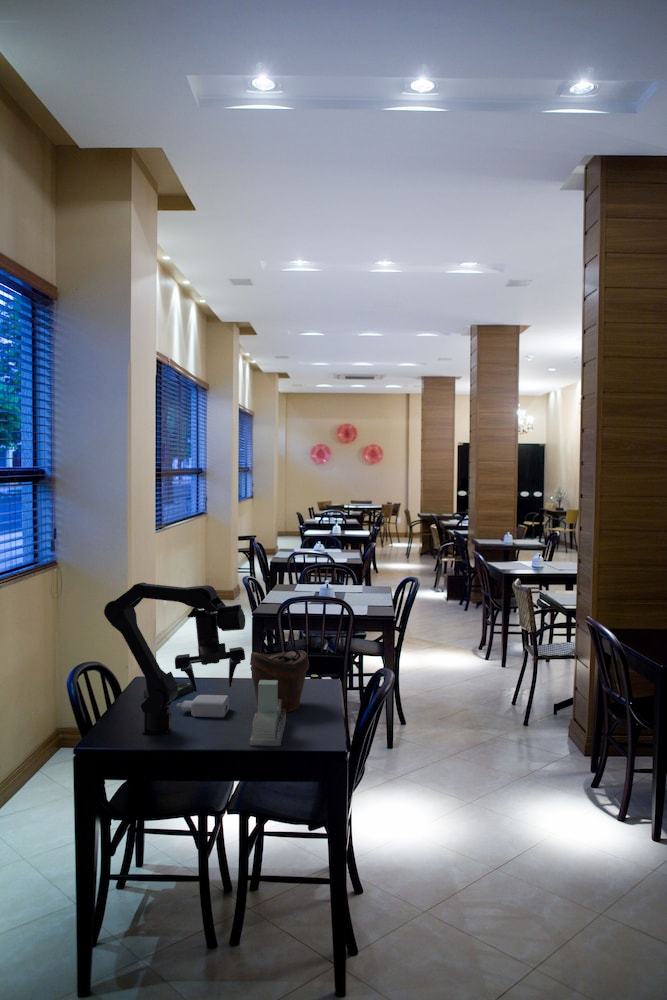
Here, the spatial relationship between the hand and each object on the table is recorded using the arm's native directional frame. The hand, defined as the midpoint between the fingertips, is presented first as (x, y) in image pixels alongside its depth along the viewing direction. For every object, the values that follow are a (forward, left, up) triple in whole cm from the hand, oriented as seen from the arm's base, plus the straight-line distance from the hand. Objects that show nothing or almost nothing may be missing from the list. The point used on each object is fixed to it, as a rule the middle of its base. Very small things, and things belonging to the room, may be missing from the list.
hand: (213, 689), depth 206 cm
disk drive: (-21, +41, -13) cm, 48 cm away
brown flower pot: (+16, +28, -13) cm, 35 cm away
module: (+15, +3, -11) cm, 19 cm away
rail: (+15, +3, -13) cm, 20 cm away
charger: (-7, +20, -13) cm, 25 cm away
